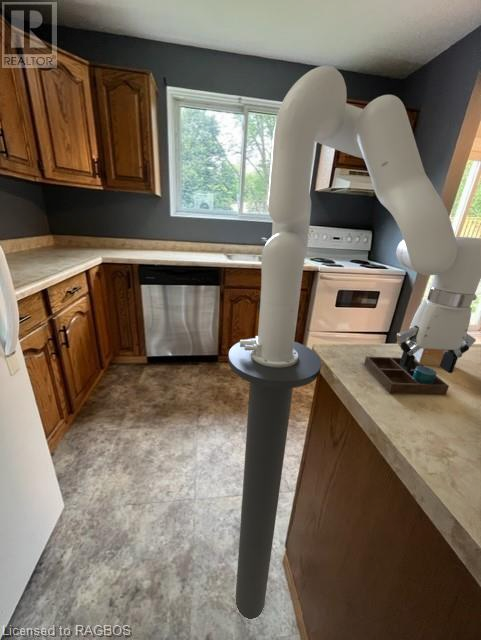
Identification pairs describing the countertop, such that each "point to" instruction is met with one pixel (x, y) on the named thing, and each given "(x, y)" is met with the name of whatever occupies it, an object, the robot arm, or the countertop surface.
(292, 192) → the robot arm
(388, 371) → the grid
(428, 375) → the teal cylinder
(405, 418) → the countertop surface
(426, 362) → the small box
